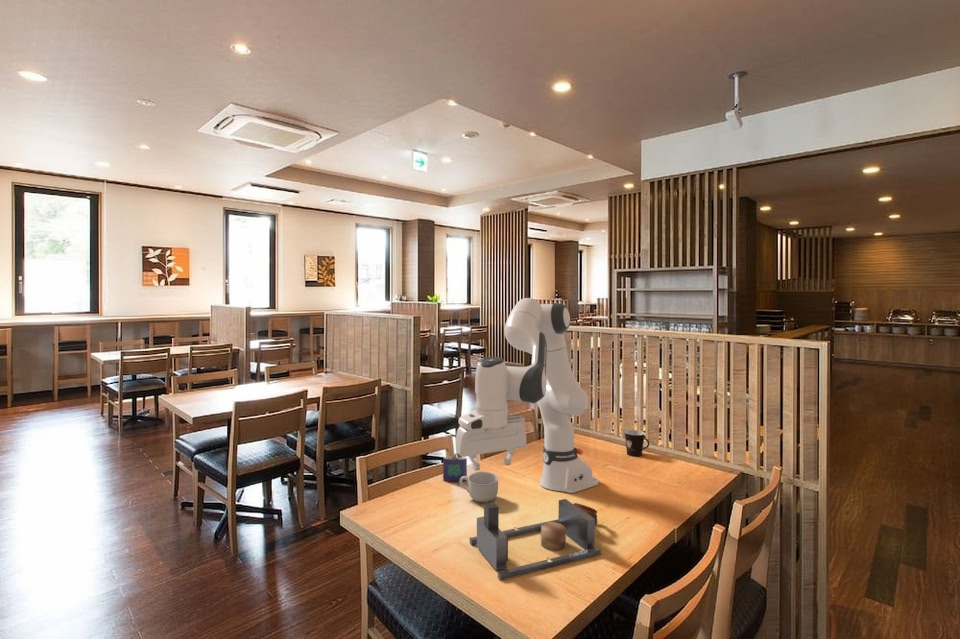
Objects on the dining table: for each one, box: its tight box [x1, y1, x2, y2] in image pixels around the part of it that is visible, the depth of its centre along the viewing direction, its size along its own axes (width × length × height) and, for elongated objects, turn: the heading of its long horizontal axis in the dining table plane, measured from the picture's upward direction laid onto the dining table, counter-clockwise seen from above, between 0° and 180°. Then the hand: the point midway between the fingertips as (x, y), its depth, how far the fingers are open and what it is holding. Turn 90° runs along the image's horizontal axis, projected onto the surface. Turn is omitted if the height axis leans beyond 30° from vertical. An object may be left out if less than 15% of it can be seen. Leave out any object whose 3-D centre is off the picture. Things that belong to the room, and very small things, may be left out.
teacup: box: [458, 471, 499, 504], centre depth 176 cm, size 14×11×8 cm
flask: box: [442, 452, 468, 483], centre depth 192 cm, size 9×3×11 cm, turn 87°
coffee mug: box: [624, 429, 650, 458], centre depth 222 cm, size 12×9×10 cm
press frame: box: [469, 498, 602, 581], centre depth 141 cm, size 31×21×9 cm
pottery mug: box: [573, 502, 598, 526], centre depth 154 cm, size 12×10×8 cm
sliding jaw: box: [476, 502, 509, 571], centre depth 136 cm, size 4×13×14 cm, turn 23°
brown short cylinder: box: [540, 521, 567, 552], centre depth 144 cm, size 7×7×5 cm
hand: (492, 467), depth 136 cm, fingers open, 8 cm apart
